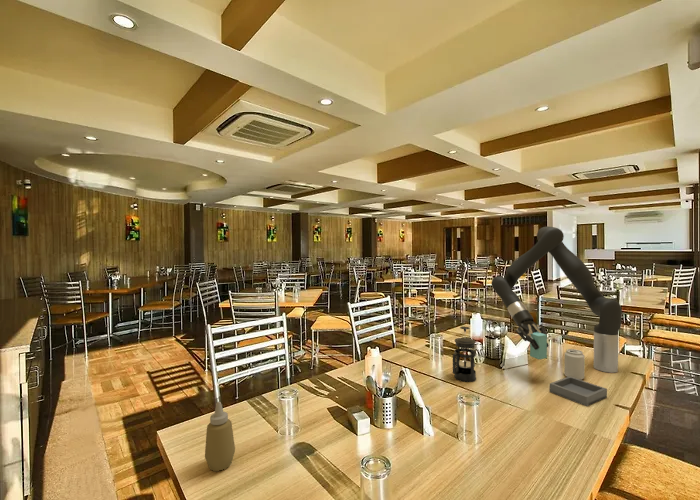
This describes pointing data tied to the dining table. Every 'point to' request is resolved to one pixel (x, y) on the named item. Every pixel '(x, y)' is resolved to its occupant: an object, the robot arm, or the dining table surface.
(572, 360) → the can
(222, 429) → the squeeze bottle
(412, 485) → the dining table surface
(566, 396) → the tray
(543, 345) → the green tall block
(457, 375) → the french press
